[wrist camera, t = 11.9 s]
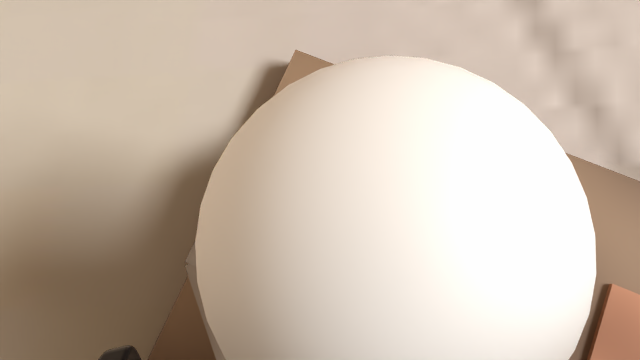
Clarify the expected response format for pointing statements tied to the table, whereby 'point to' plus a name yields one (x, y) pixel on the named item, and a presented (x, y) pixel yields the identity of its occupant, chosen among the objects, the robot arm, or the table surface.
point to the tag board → (608, 295)
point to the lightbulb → (395, 223)
